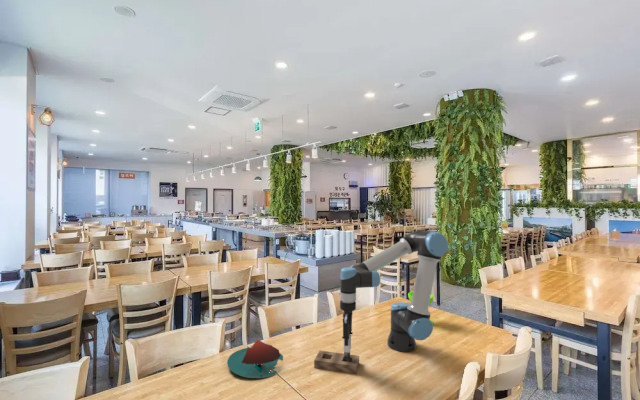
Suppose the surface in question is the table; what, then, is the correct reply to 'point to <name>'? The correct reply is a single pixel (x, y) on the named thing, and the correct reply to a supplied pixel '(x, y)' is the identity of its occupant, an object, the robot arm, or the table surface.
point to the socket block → (336, 362)
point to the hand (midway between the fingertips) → (347, 349)
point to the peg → (347, 355)
